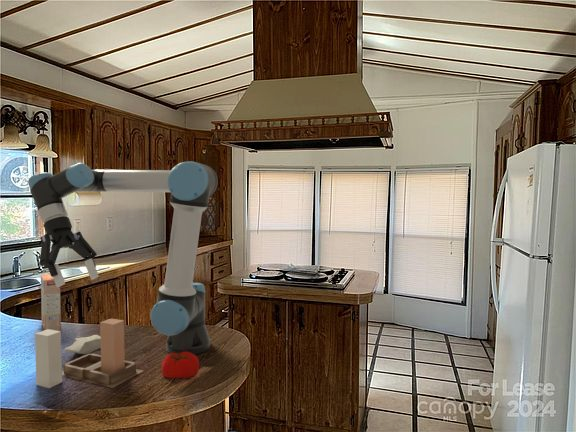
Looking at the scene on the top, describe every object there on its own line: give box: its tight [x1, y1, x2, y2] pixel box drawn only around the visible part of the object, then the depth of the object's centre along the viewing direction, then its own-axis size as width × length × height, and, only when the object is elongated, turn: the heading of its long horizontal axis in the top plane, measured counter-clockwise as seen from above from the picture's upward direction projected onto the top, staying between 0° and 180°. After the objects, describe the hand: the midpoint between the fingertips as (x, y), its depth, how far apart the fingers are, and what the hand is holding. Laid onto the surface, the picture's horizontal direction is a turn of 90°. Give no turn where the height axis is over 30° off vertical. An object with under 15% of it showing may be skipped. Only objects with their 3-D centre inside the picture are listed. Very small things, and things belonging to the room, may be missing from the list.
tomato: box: [161, 351, 200, 380], centre depth 125 cm, size 10×11×6 cm
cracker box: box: [40, 273, 62, 332], centre depth 167 cm, size 14×6×21 cm, turn 34°
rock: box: [63, 334, 101, 355], centre depth 146 cm, size 21×5×15 cm
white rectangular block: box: [34, 329, 63, 389], centre depth 116 cm, size 4×5×16 cm
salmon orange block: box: [99, 318, 126, 374], centre depth 122 cm, size 4×5×16 cm
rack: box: [62, 352, 144, 389], centre depth 124 cm, size 22×12×4 cm, turn 67°
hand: (78, 281), depth 131 cm, fingers open, 13 cm apart
